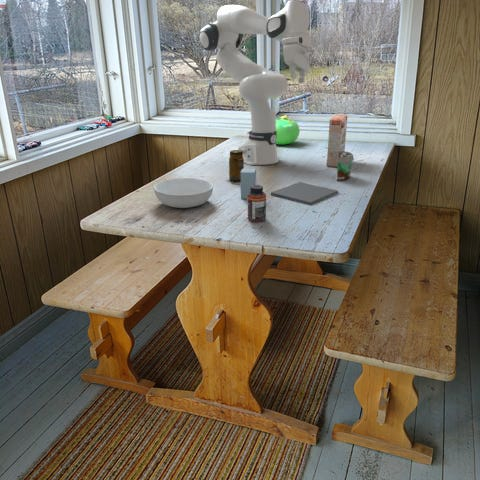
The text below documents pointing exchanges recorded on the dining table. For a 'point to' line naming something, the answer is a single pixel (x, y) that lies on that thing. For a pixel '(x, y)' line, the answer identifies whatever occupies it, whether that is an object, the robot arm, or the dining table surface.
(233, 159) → the condiment
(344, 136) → the cracker box
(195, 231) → the dining table surface
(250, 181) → the slate-blue block
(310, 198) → the rubber mat
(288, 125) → the toy bird
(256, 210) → the supplement bottle
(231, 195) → the dining table surface
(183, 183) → the serving bowl
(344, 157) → the food container
